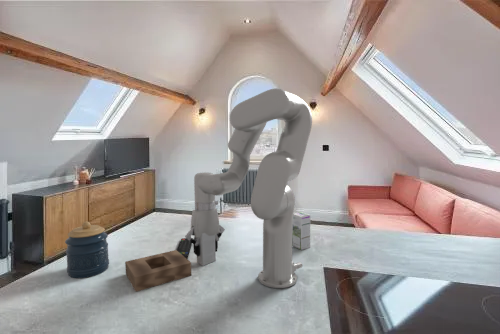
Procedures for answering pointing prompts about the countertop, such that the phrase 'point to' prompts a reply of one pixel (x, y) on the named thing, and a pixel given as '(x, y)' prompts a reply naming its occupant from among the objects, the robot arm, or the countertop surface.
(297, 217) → the syrup box
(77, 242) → the canister
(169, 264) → the frame
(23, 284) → the countertop surface
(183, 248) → the remote control
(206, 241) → the skincare box
